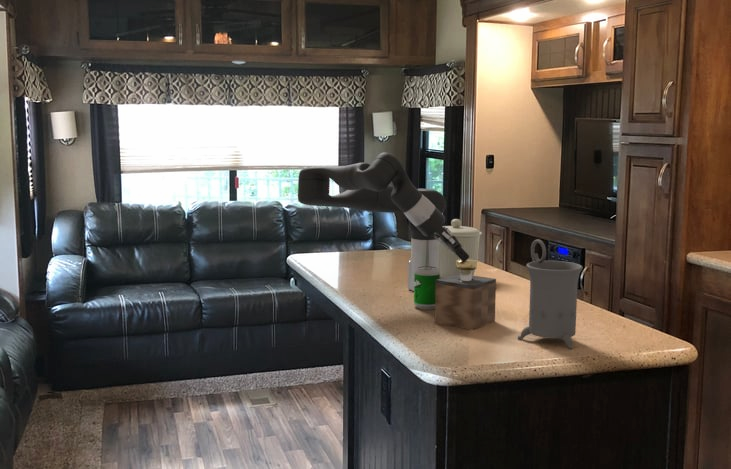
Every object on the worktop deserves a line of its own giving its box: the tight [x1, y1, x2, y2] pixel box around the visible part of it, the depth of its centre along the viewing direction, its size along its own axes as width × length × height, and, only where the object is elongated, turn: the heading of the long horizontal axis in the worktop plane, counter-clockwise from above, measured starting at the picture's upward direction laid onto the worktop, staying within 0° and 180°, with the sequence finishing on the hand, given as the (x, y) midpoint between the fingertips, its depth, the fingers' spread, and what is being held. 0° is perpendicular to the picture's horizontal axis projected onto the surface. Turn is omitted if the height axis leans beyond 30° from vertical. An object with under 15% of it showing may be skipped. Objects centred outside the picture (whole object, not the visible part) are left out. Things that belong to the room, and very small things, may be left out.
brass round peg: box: [456, 259, 478, 281], centre depth 215 cm, size 6×6×12 cm
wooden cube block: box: [434, 274, 497, 331], centre depth 216 cm, size 12×12×12 cm
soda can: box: [413, 266, 441, 311], centre depth 233 cm, size 8×8×12 cm
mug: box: [517, 238, 584, 350], centre depth 198 cm, size 19×15×25 cm
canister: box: [439, 218, 483, 279], centre depth 277 cm, size 18×18×21 cm
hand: (466, 259), depth 214 cm, fingers closed
